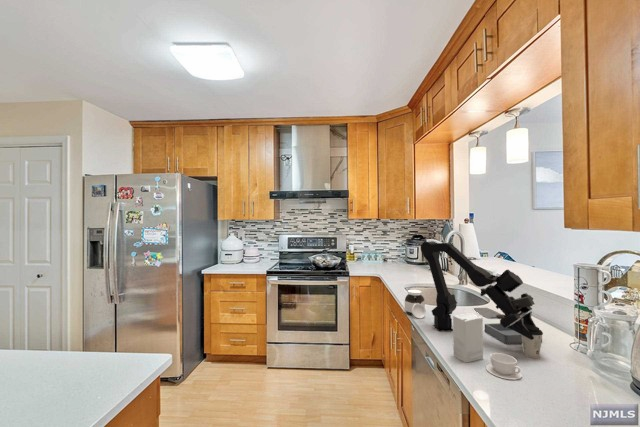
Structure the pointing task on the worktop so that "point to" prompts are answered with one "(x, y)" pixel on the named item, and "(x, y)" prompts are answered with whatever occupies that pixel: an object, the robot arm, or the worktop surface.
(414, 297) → the spread jar
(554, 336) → the worktop surface
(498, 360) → the teacup
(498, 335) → the tray
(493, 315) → the cleaver
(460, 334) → the skincare box
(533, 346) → the coffee cup
